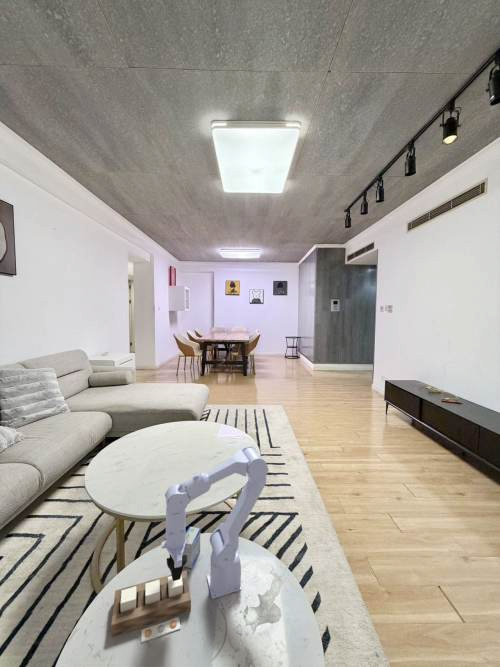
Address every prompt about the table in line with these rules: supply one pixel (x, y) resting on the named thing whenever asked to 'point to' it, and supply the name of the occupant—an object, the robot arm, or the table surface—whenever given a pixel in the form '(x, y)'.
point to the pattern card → (160, 629)
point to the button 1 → (128, 599)
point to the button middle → (152, 592)
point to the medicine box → (192, 546)
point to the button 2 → (175, 587)
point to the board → (149, 607)
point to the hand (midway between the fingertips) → (175, 569)
